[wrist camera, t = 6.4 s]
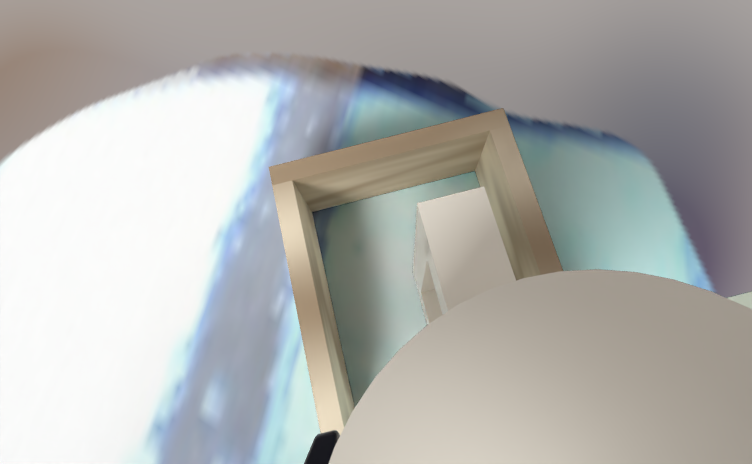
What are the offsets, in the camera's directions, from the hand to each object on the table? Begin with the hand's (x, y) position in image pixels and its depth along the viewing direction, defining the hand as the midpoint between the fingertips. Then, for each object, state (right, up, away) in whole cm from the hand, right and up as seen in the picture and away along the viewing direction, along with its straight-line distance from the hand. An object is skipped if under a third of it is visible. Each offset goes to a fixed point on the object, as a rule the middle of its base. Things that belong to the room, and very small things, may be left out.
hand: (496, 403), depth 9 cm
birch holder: (0, 0, +12) cm, 12 cm away
